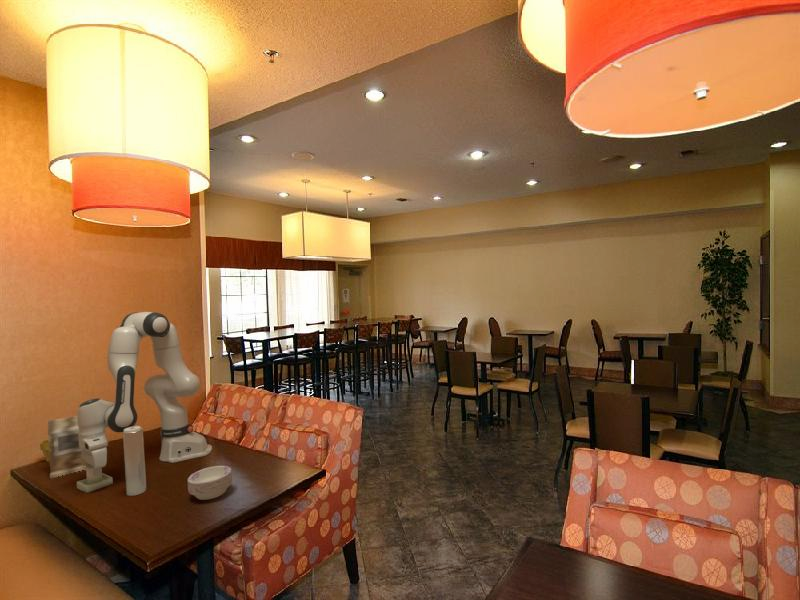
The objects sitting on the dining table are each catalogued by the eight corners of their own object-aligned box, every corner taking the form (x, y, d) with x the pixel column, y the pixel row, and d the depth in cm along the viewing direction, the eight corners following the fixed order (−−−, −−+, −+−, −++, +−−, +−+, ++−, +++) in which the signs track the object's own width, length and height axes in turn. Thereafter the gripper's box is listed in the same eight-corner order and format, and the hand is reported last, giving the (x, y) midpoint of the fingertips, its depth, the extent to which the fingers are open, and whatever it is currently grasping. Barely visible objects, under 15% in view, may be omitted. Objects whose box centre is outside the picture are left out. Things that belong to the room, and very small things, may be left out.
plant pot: (42, 459, 202) (41, 439, 202) (69, 454, 208) (68, 434, 208) (40, 466, 193) (38, 445, 193) (68, 460, 200) (67, 439, 200)
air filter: (136, 496, 158) (132, 430, 157) (122, 495, 159) (118, 430, 159) (150, 488, 164) (146, 425, 164) (136, 487, 165) (132, 425, 165)
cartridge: (104, 477, 172) (103, 460, 172) (99, 482, 167) (98, 464, 167) (89, 479, 170) (88, 462, 170) (84, 484, 166) (83, 467, 165)
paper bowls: (187, 492, 159) (186, 471, 159) (230, 481, 167) (229, 461, 167) (189, 508, 146) (188, 486, 146) (235, 496, 153) (234, 475, 153)
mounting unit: (95, 461, 196) (92, 412, 196) (95, 467, 188) (92, 416, 188) (51, 471, 186) (48, 419, 186) (49, 478, 178) (46, 424, 178)
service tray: (103, 479, 175) (102, 473, 175) (112, 483, 170) (112, 477, 170) (77, 488, 168) (76, 481, 167) (86, 493, 162) (86, 486, 162)
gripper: (76, 437, 173) (78, 470, 173) (90, 447, 160) (92, 483, 160) (94, 433, 178) (96, 465, 178) (109, 442, 164) (111, 477, 165)
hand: (94, 473), depth 169 cm, fingers closed on cartridge, 5 cm apart
